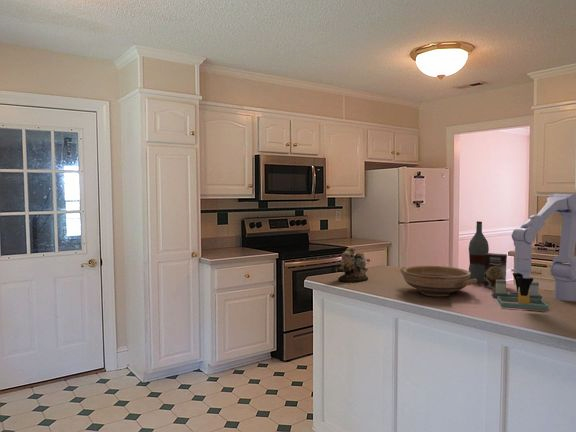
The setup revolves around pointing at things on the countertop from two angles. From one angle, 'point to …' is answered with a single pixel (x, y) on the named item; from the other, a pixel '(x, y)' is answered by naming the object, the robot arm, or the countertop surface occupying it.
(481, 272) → the bottle
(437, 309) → the countertop surface
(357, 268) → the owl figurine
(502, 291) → the block
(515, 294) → the fuse holder
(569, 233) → the robot arm
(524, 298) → the block
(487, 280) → the coffee box
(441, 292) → the ceramic bowl
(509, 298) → the parts tray
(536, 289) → the grey rectangular block
